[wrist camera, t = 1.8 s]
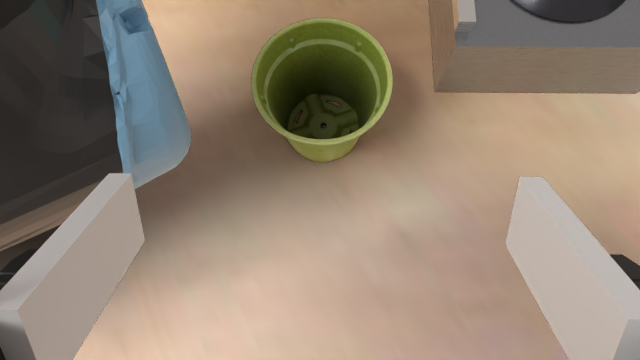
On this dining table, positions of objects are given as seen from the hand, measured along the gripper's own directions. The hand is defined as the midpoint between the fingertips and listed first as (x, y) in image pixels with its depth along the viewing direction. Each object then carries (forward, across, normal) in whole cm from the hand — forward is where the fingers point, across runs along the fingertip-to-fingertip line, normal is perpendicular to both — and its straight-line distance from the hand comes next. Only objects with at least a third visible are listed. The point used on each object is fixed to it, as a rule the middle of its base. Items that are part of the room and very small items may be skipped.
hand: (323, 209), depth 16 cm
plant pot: (+24, 0, -6) cm, 24 cm away
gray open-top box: (+31, +19, +2) cm, 36 cm away
